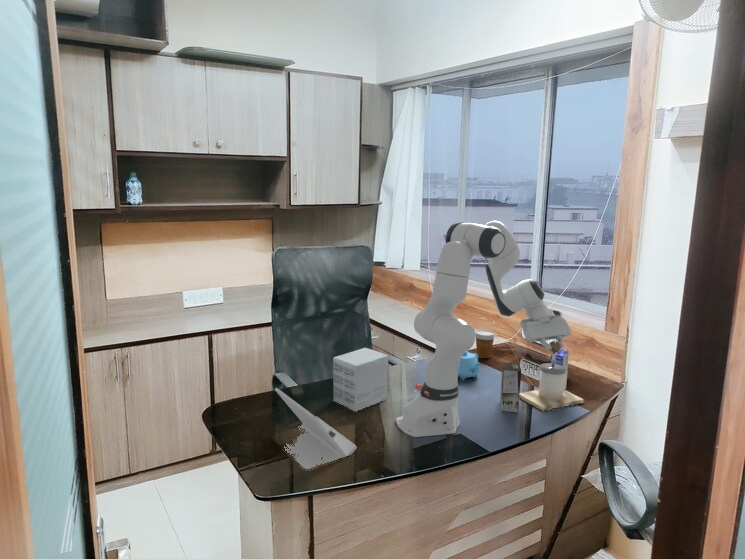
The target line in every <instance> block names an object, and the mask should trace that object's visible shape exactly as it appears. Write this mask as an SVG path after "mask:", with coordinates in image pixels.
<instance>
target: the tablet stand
mask: <svg viewBox="0 0 745 559" xmlns="http://www.w3.org/2000/svg"><path fill="white" fill-rule="evenodd" d="M274 390H275V392H276V393H277V395H278V396H279V397H281V399H282V401H284V403H285V404H286V405H287V406H288V408H289V409H290V410H291V411H292V412H293V413H294V415H295V416H296V417H297V418H298V419H299V421H300V422H301V425H300V426H297V427H298V428H299V427H300V428H302V429H305V432H306V433H305V432H304V434H302V433H301V434H302V435H301V434H300V436H299V437H300V438H299V437H298V436H297V437H298V438H297V441H298V442H297V441H296V443H297V444H296V443H295V447H294V446H292V445H293V444H292V445H291V444H290V445H291V446H290V445H289V444H287V443H286V445H287V447H288V448H289V449H288V448H287V447H285V446H284V448H285V451H287V453H290V455H291V454H294V453H295V454H296V455H295V458H296V459H295V460H296V461H297V462H298V463H299V464H300V465H301V466H302V467H303V468H305V469H310V468H313V467H315V466H317V465H320V464H321V463H322V464H324V463H327V462H331V461H334V460H337V459H339V458H343V457H346V456H349V455H350V456H351V455H352V454H353V453H354V452H355V451H356V450H357V448H358V447H357V446H356V444H355V443H354V442H352V441H351V440H349V439H348V438H347V437H346V436H344V435H343V434H341V433H340V432H339V431H337V430H336V429H335V428H333V427H332V426H331V425H329V424H328V423H326V422H325V421H324V420H323V419H321V418H319V416H315V415H314V414H313V413H311V412H310V411H309V410H308V409H307V408H305V407H303V406H302V405H301V404H299V403H298V402H297V401H295V400H294V399H293V398H291V397H290V396H289V395H287V394H286V393H285V392H283V391H282V390H280V389H279V388H278V387H276V388H274ZM300 428H299V430H300ZM302 429H301V430H302ZM301 430H300V431H301ZM303 431H304V430H303ZM303 431H302V432H303ZM307 432H308V433H307ZM331 432H332V433H333V434H334V436H333V437H332V436H331V435H330V433H331ZM302 436H303V437H302ZM286 448H287V449H286ZM290 449H291V450H290ZM289 450H290V451H289ZM285 451H284V452H285ZM287 453H286V454H287ZM298 454H299V455H298ZM297 455H298V457H297ZM292 456H293V455H292ZM350 456H349V457H350ZM322 457H323V459H322V460H321V458H322ZM293 458H294V457H293ZM346 458H347V457H346ZM343 459H344V458H343ZM323 461H324V462H323ZM316 464H317V465H316ZM300 465H299V466H300ZM301 466H300V467H301ZM302 467H301V468H302ZM303 468H302V469H303Z"/></svg>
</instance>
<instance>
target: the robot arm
mask: <svg viewBox="0 0 745 559" xmlns="http://www.w3.org/2000/svg"><path fill="white" fill-rule="evenodd" d="M515 239H516V238H515V237H514V236H513V234H512V233H511V231H510V230H509V229H508V228H507V227H506V225H504V223H502V222H501V221H498V220H491V221H489V222H486V223H485V224H479V223H475V222H456V223H453V224H451V225H450V226H449V228H448V229H447V232H446V234H445V244H444V245H443V246H442V248H441V251H440V254H439V257H438V261H437V266H436V271H435V276H434V277H435V278H434V283H433V288H432V292H431V296H430V298H429V300H428V303H427V304H426V306H425V307H424V308H423V309H422V310H421V311H420V312H418V313H417V314H416V315H415V317H414V320H413V328H414V331H415V333H417V334H418V335H419V336H420V338H422V339H424V340H425V341H426V342H430V343H432V344H434V345H435V351H434V355H432V356H431V357H429V358H428V359H427V361H426V362H425V378H424V379H425V380H424V383H423V385H421V384H420V383H416V384H415V385H414V388H415V390H417V391H419V394H418V395H417V396H415V397H414V398H413V399H412V400H410V401H409V402H408V403H407V404H406V405H405V406H404V408H403V411H402V416H398V417H396V419H395V420H396V421H395V422H396V426H397V427H398V428H399V429H400V430H401V431H402V432H403V433H404V434H406V435H408V436H410V437H413V438H421V437H432V436H441V435H442V436H443V435H452V434H456V433H457V429H458V428H459V427H460V426H461V420H460V416H459V409H458V396H459V383H458V379H459V376H458V367H459V362H460V360H461V357H462V355H463V354H464V353H465V352H466V351H468V352H469V350H470V349H471V348H473V346H474V344H475V343H476V337H475V336H476V335H475V334H476V331H475V328H474V327H473V326H472V325H471V324H470V323H468V322H467V321H465V320H463V319H461V318H459V317H456V316H453V313H454V310H455V308H456V307H457V306H458V305H459V304H461V303H462V302H464V301H465V299H466V296H467V291H468V284H469V278H470V274H471V271H470V270H471V261H472V259H473V257H475V258H476V257H477V258H485V259H488V261H487V264H486V265H485V273H486V277H487V281H488V284H489V287H490V290H491V292H492V295H493V301H494V306H495V308H496V310H497V311H498V313H499V314H500V315H502V316H504V317H511V316H513V315H515V314H516V313H517V312H520V311H521V310H523V311H525V316H526V318H527V319H525V318H524V319H521V321H520V326H521V329H522V332H523V335H524V339H525V340H526V341H527V342H528V343H535V342H539V344H540V345H542V346H543V347H544V348H545V349H546V351H550V350H551V349H552V347H551V344H550V343H548V342H547V341H550V340H555V341H557V342H559V343H560V345H561V349H563V348H565V345H564V343H563V339H564V338H568V337H569V336H570V335H571V334H572V329H571V327H570V325H569V324H568V322H567V320H566V318H564V317H563V313H562V312H561V311H559V310H556V309H552V308H549V307H548V306H547V304H546V303H545V302H544V297H545V293H544V291H543V290H542V287H541V285H540V283H539V281H538V280H535V279H532V278H527V279H524V280H521V281H519V282H517V284H515V285H513V286H510V287H509V288H507V289H504V290H503V287H502V284H501V280H502V279H503V278H504V276H506V275H507V274H508V273H509V272H510V271H511V270H513V268H514V267H515V266H516V265H517V263H518V261H519V260H520V255H521V252H520V248H519V246H518V243H517V241H516V240H515Z"/></svg>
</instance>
